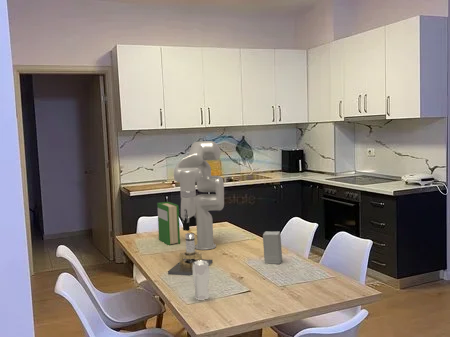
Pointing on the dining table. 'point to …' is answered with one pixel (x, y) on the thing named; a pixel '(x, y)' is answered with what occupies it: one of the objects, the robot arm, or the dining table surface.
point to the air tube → (190, 246)
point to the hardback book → (168, 223)
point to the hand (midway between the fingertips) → (189, 228)
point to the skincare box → (272, 247)
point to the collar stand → (186, 264)
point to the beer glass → (201, 279)
